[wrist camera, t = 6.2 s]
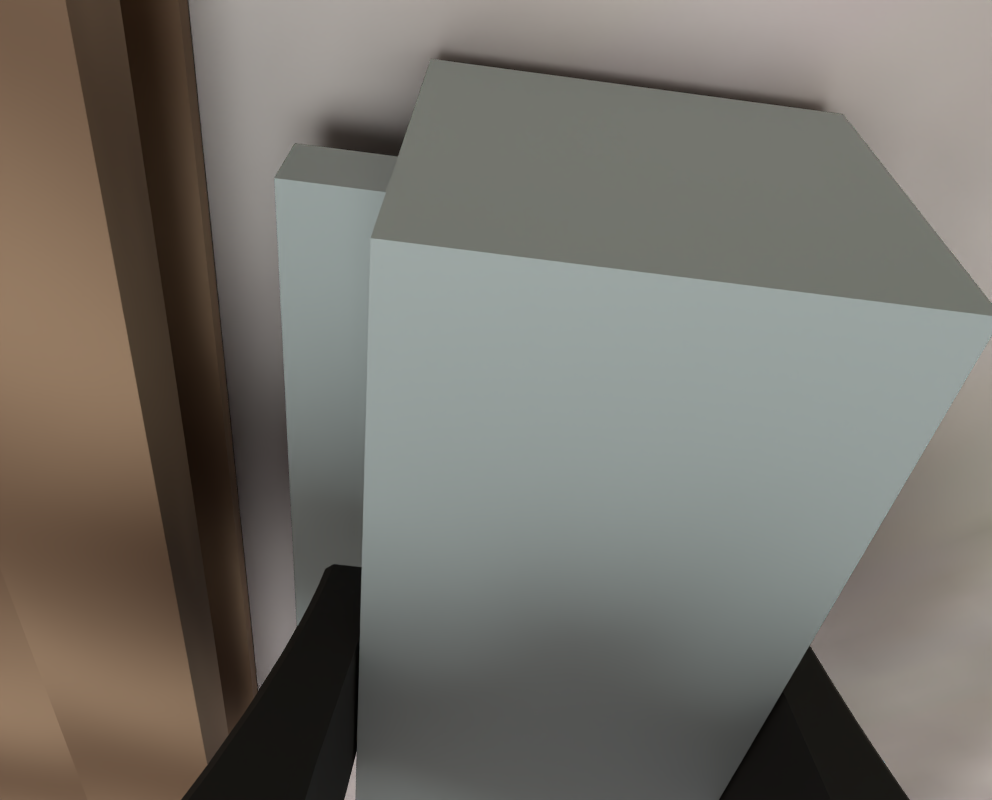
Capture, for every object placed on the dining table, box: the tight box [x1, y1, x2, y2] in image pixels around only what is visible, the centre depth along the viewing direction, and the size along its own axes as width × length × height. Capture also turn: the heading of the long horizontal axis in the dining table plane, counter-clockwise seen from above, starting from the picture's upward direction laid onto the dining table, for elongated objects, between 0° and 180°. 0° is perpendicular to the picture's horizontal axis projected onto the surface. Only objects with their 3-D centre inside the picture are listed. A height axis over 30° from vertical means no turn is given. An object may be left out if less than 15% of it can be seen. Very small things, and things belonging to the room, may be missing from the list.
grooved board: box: [0, 0, 258, 800], centre depth 13 cm, size 19×6×3 cm, turn 173°
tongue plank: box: [274, 59, 992, 800], centre depth 13 cm, size 14×6×4 cm, turn 173°
